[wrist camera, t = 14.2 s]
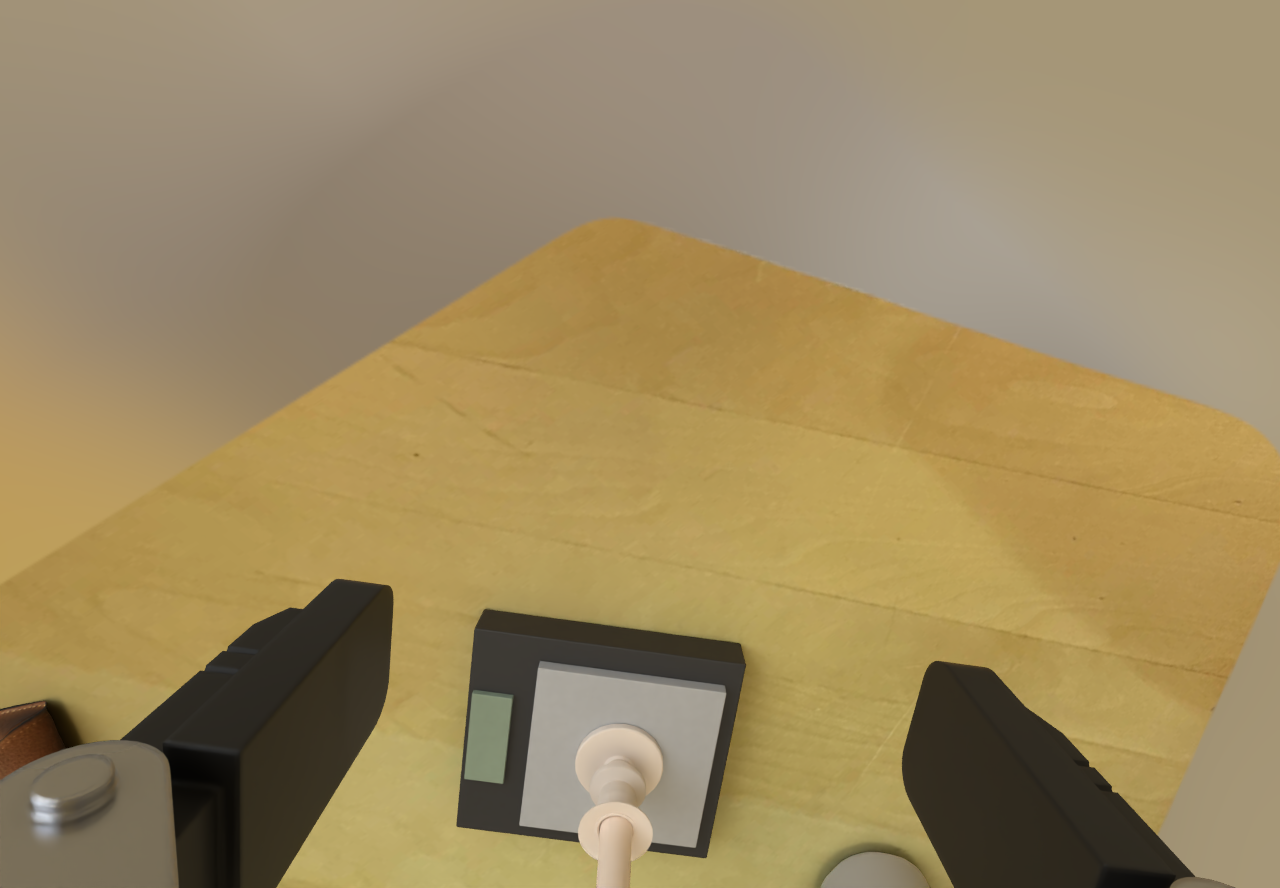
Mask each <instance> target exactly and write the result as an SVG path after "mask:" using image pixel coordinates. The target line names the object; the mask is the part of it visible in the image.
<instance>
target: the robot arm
mask: <svg viewBox="0 0 1280 888" xmlns="http://www.w3.org/2000/svg"><path fill="white" fill-rule="evenodd" d="M392 619H393V591H392V589H391V587H390V586H388V585H381V584H374V583H366V582H359V581H352V580H344V579H336V580H334V581H333V582H331V583H330V584H329V585H328V586H327V587H326V588H325V589H324V590H323V591H322V592H321V593H320V594H319V595H318V596H317V597H316V598H314V599H313V600H312V601H311V602H310V603H309V604H308V605H307V606H306V607H305V608H304V609H297V608H288V609H286V610H284V611H282V612H279V613H277V614H275V615H273V616H271V617H269V618H266V619H264V620H262V621H260V622H258V623H255V624H254V625H252V626H251V627H250V628H249V629H248V630H247V631H245V632H244V633H243V634H242V635H241V636H240V637H239V638H237V639H236V640H235V641H234V642H233V643H232V644H230V645H229V646H228V649H227V651H222V652H221V653H220V654H219V655H218V656H217V657H215V658H214V659H213V660H212V661H211V662H210V663H209V664H207V665H206V668H205V670H204V671H199V672H198V673H197V674H196V675H195V676H194V677H192V678H191V679H190V680H189V681H188V682H187V683H185V684H184V685H183V686H182V687H181V688H180V689H179V690H177V691H176V692H175V693H174V694H173V695H172V696H170V697H169V698H168V699H167V700H166V701H165V702H164V703H162V704H161V705H160V706H159V707H158V708H157V709H155V710H154V711H153V712H152V713H151V714H150V715H149V716H147V717H146V718H145V719H144V720H143V721H142V722H140V723H139V724H138V725H137V726H136V727H135V728H134V729H132V730H131V731H130V732H129V733H128V734H127V735H125V736H124V737H123V738H122V739H121V740H110V741H101V742H93V743H88V744H83V745H78V746H74V747H71V748H67V749H64V750H60V751H58V752H55V753H52V754H49V755H47V756H44V757H42V758H40V759H37V760H35V761H33V762H31V763H28V764H27V765H25V766H23V767H21V768H19V769H17V770H15V771H14V772H12V773H11V774H9V775H7V776H6V777H4V778H3V779H1V780H0V888H276V887H277V885H278V884H279V882H280V881H281V879H282V877H283V876H284V874H285V872H286V871H287V869H288V868H289V866H290V864H291V863H292V861H293V859H294V858H295V856H296V855H297V853H298V851H299V850H300V848H301V846H302V845H303V843H304V841H305V840H306V838H307V837H308V835H309V833H310V832H311V830H312V828H313V827H314V825H315V824H316V822H317V820H318V819H319V817H320V815H321V814H322V812H323V810H324V809H325V807H326V806H327V804H328V802H329V801H330V799H331V797H332V796H333V794H334V793H335V791H336V789H337V788H338V786H339V784H340V783H341V781H342V779H343V778H344V776H345V775H346V773H347V771H348V770H349V768H350V766H351V765H352V763H353V762H354V760H355V758H356V757H357V755H358V753H359V752H360V750H361V749H362V747H363V745H364V744H365V742H366V740H367V739H368V737H369V735H370V734H371V732H372V731H373V729H374V727H375V725H376V724H377V721H378V719H379V717H380V714H381V712H382V709H383V706H384V702H385V699H386V694H387V689H388V683H389V669H390V652H391V636H392ZM902 773H903V781H904V786H905V790H906V793H907V795H908V798H909V800H910V802H911V804H912V806H913V808H914V810H915V812H916V814H917V815H918V817H919V819H920V821H921V823H922V825H923V827H924V829H925V831H926V833H927V835H928V837H929V839H930V841H931V843H932V845H933V847H934V849H935V851H936V853H937V855H938V857H939V859H940V861H941V862H942V864H943V866H944V868H945V870H946V872H947V874H948V876H949V878H950V880H951V882H952V884H953V886H954V888H1235V887H1232V886H1229V885H1226V884H1224V883H1221V882H1217V881H1214V880H1210V879H1205V878H1199V877H1195V876H1194V875H1193V874H1192V873H1191V871H1190V870H1189V869H1188V868H1187V867H1186V866H1185V865H1184V864H1183V863H1182V862H1181V861H1180V860H1179V858H1178V857H1177V856H1176V855H1175V854H1174V853H1173V852H1172V851H1171V850H1170V849H1169V848H1168V847H1167V846H1166V844H1165V843H1164V842H1163V841H1162V840H1161V839H1160V838H1159V837H1158V836H1157V835H1156V834H1155V833H1154V831H1153V830H1152V829H1151V828H1150V827H1149V826H1148V825H1147V824H1146V823H1145V822H1144V821H1143V820H1142V819H1141V817H1140V816H1139V815H1138V814H1137V813H1136V812H1135V811H1134V810H1133V809H1132V808H1131V807H1130V806H1129V805H1128V803H1127V802H1126V801H1125V800H1124V799H1123V798H1122V797H1121V796H1120V795H1119V794H1118V793H1115V792H1112V786H1111V785H1110V784H1109V783H1108V782H1107V781H1106V780H1105V779H1104V778H1103V776H1102V775H1101V774H1100V773H1099V772H1098V771H1097V770H1096V769H1095V768H1092V767H1089V761H1088V760H1087V759H1086V758H1085V757H1084V756H1083V755H1082V754H1081V753H1080V752H1079V751H1078V749H1077V748H1076V747H1075V746H1074V745H1073V744H1072V743H1071V742H1070V741H1069V740H1068V739H1067V738H1066V737H1065V735H1064V734H1063V733H1061V732H1060V731H1059V730H1057V729H1056V728H1054V727H1053V726H1052V725H1050V724H1049V723H1047V722H1046V721H1044V720H1043V719H1042V718H1040V717H1039V716H1037V715H1036V714H1035V713H1033V712H1032V711H1030V710H1029V709H1028V708H1026V707H1025V706H1024V705H1023V704H1022V703H1021V702H1020V700H1019V699H1018V698H1017V697H1016V696H1015V695H1014V694H1013V693H1012V691H1011V690H1010V689H1009V688H1008V687H1007V686H1006V685H1005V684H1004V683H1003V681H1002V680H1001V679H1000V678H999V677H998V676H997V675H996V674H995V673H994V672H993V671H992V670H991V669H989V668H985V667H979V666H971V665H964V664H956V663H949V662H942V661H935V662H933V663H931V664H930V665H929V667H928V668H927V670H926V672H925V675H924V678H923V681H922V685H921V689H920V692H919V696H918V699H917V703H916V707H915V710H914V714H913V717H912V721H911V725H910V728H909V732H908V735H907V739H906V743H905V746H904V750H903V757H902Z"/></svg>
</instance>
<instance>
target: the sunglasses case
mask: <svg viewBox="0 0 1280 888" xmlns="http://www.w3.org/2000/svg"><path fill="white" fill-rule="evenodd" d="M46 709H47V703H46V701H39V702H34V703H28V704H23V705H17V706H13V707H8V708H4V709H0V780H1V779H3V778H4V777H6V776H7V775H9V774H11V773H12V772H14V771H15V770H17V769H19V768H21V767H23V766H25V765H27V764H28V763H31V762H33V761H35V760H37V759H40V758H42V757H44V756H47V755H49V754H52V753H55V752H58V751H60V750H64V749H66V748H65V746H64V744H63V741H62V739H61V737H60V735H59V734H58V732H57V729H56V727H55V724H54V721H53V719H52V717H51V716H50V714H49V713H48V712H47V710H46Z"/></svg>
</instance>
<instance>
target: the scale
mask: <svg viewBox="0 0 1280 888" xmlns="http://www.w3.org/2000/svg"><path fill="white" fill-rule="evenodd" d="M745 667H746V664H745V660H744V656H743V653H742V649H741V645H740V644H739V643H731V642H724V641H716V640H709V639H702V638H694V637H687V636H679V635H672V634H664V633H657V632H650V631H642V630H635V629H627V628H620V627H612V626H605V625H598V624H590V623H583V622H575V621H568V620H560V619H553V618H546V617H538V616H531V615H523V614H516V613H508V612H501V611H494V610H486V609H485V610H484V611H483V613H482V615H481V617H480V619H479V621H478V623H477V625H476V627H475V630H474V641H473V652H472V662H471V673H470V684H469V695H468V706H467V716H466V727H465V738H464V749H463V760H462V771H461V781H460V792H459V803H458V814H457V827H462V828H470V829H478V830H486V831H494V832H502V833H510V834H518V835H526V836H534V837H541V838H549V839H557V840H565V841H573V842H580V841H579V838H578V827H579V824H580V821H581V819H582V817H583V816H584V814H585V813H586V812H587V811H589V810H590V809H591V808H592V807H594V806H596V805H595V804H594V802H593V801H592V799H591V796H590V793H589V792H588V791H587V790H585V788H584V787H583V786H582V784H581V783H580V782H579V780H578V777H577V774H576V771H575V759H576V754H577V750H578V747H579V745H580V744H581V742H582V741H583V739H584V738H585V737H586V736H587V735H588V734H589V733H591V732H592V731H594V730H596V729H597V728H599V727H601V726H605V725H609V724H628V725H632V726H636V727H638V728H640V729H642V730H644V731H646V732H647V733H648V734H650V735H651V736H652V737H653V738H654V739H655V740H656V742H657V743H658V745H659V746H660V749H661V752H662V755H663V773H662V776H661V779H660V781H659V783H658V784H657V786H656V787H655V789H654V790H652V791H651V792H650V793H649V794H648V795H647V796H645V799H644V801H643V802H642V804H641V805H640V806H639V807H638V808H639V809H640V810H642V811H643V812H644V813H645V814H646V815H647V817H648V818H649V820H650V822H651V825H652V828H653V838H652V841H651V845H650V847H649V848H648V850H647V851H652V852H660V853H668V854H676V855H684V856H692V857H700V858H706V857H707V853H708V848H709V843H710V838H711V834H712V829H713V824H714V819H715V814H716V809H717V804H718V799H719V794H720V789H721V785H722V780H723V775H724V770H725V765H726V760H727V755H728V750H729V745H730V740H731V736H732V731H733V726H734V721H735V716H736V711H737V706H738V701H739V696H740V691H741V687H742V682H743V677H744V672H745Z"/></svg>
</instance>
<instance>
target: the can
mask: <svg viewBox="0 0 1280 888" xmlns="http://www.w3.org/2000/svg"><path fill="white" fill-rule="evenodd" d="M820 888H930V887H929V885H928V882H927V880H926V878H925V877H924V876H923V874H922V873H921V872H920V870H919V869H918V868H917V867H916V866H915V865H913V864H912V863H910V862H909V861H907V860H906V859H904V858H901V857H898V856H894V855H891V854H888V853H881V852H863V853H859V854H855V855H852V856H850V857H848V858H847V859H845V860H843V861H841V862H840V863H839V864H838V865H837V866H836V867H835V868H834V869H833V870H832V871H831V872H830V873H829V874H828V875H827V876H826V877H825V879H824V881H823V883H822V885H821V887H820Z"/></svg>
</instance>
